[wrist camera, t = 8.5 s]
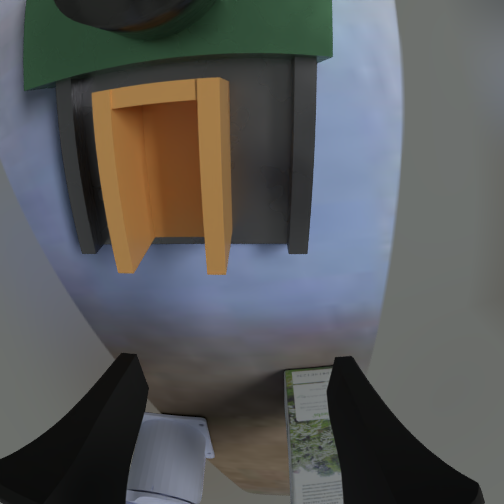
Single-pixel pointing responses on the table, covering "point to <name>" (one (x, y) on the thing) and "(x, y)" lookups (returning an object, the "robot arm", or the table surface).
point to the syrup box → (311, 438)
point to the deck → (182, 68)
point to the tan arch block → (165, 166)
